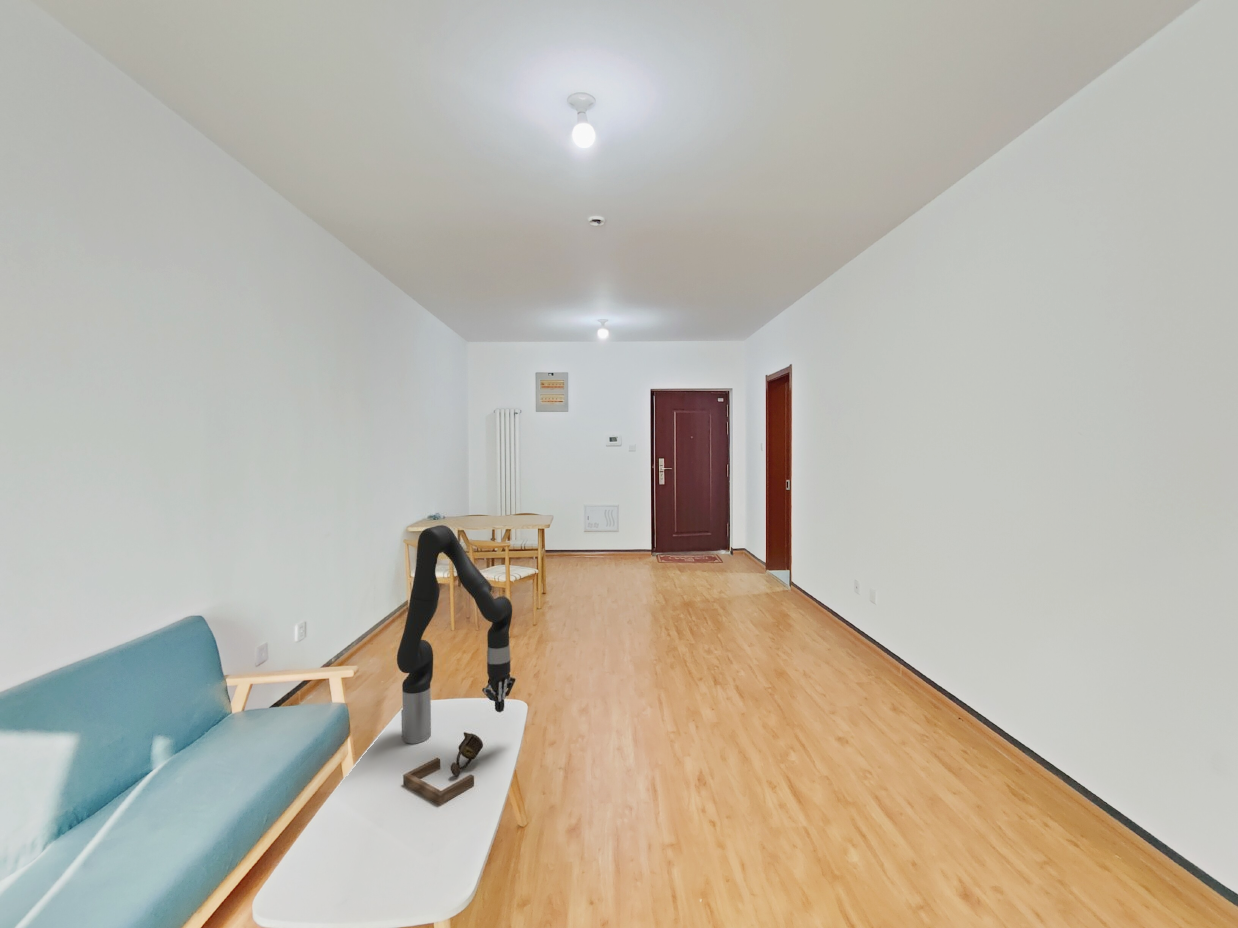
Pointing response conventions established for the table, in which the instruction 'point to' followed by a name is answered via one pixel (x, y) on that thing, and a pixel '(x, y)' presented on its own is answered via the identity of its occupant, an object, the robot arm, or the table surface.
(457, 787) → the bracket
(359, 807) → the table surface
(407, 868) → the table surface
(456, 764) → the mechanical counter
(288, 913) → the table surface
